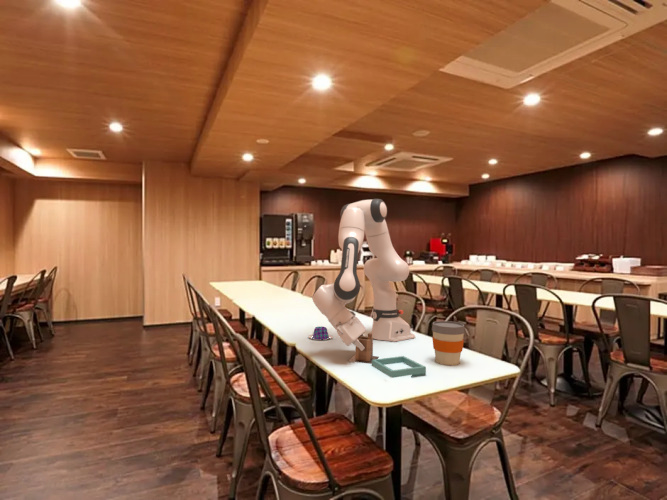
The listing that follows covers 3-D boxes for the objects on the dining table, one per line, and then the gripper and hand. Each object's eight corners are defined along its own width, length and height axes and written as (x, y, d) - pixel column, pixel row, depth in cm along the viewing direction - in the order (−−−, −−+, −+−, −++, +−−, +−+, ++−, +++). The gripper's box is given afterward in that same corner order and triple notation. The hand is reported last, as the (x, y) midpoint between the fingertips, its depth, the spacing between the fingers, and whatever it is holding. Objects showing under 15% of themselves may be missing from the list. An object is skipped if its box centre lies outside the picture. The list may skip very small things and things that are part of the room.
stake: (355, 356, 159) (355, 341, 159) (379, 359, 156) (379, 344, 156) (348, 363, 149) (348, 348, 149) (373, 366, 146) (374, 350, 146)
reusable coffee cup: (424, 358, 157) (425, 322, 157) (449, 355, 162) (450, 320, 162) (445, 368, 146) (446, 328, 145) (471, 364, 151) (472, 326, 150)
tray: (403, 363, 150) (403, 356, 150) (425, 375, 137) (425, 366, 137) (371, 367, 145) (371, 359, 145) (391, 380, 132) (392, 371, 132)
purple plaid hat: (327, 334, 197) (327, 324, 197) (336, 340, 186) (336, 329, 186) (304, 336, 192) (304, 325, 192) (313, 342, 181) (313, 331, 181)
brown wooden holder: (359, 355, 156) (359, 331, 156) (372, 357, 154) (373, 332, 154) (355, 359, 151) (355, 334, 150) (369, 361, 149) (369, 335, 149)
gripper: (340, 319, 144) (365, 348, 142) (354, 310, 164) (376, 336, 161) (328, 330, 146) (353, 359, 143) (344, 320, 165) (366, 345, 162)
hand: (365, 347), depth 152 cm, fingers closed on brown wooden holder, 6 cm apart
